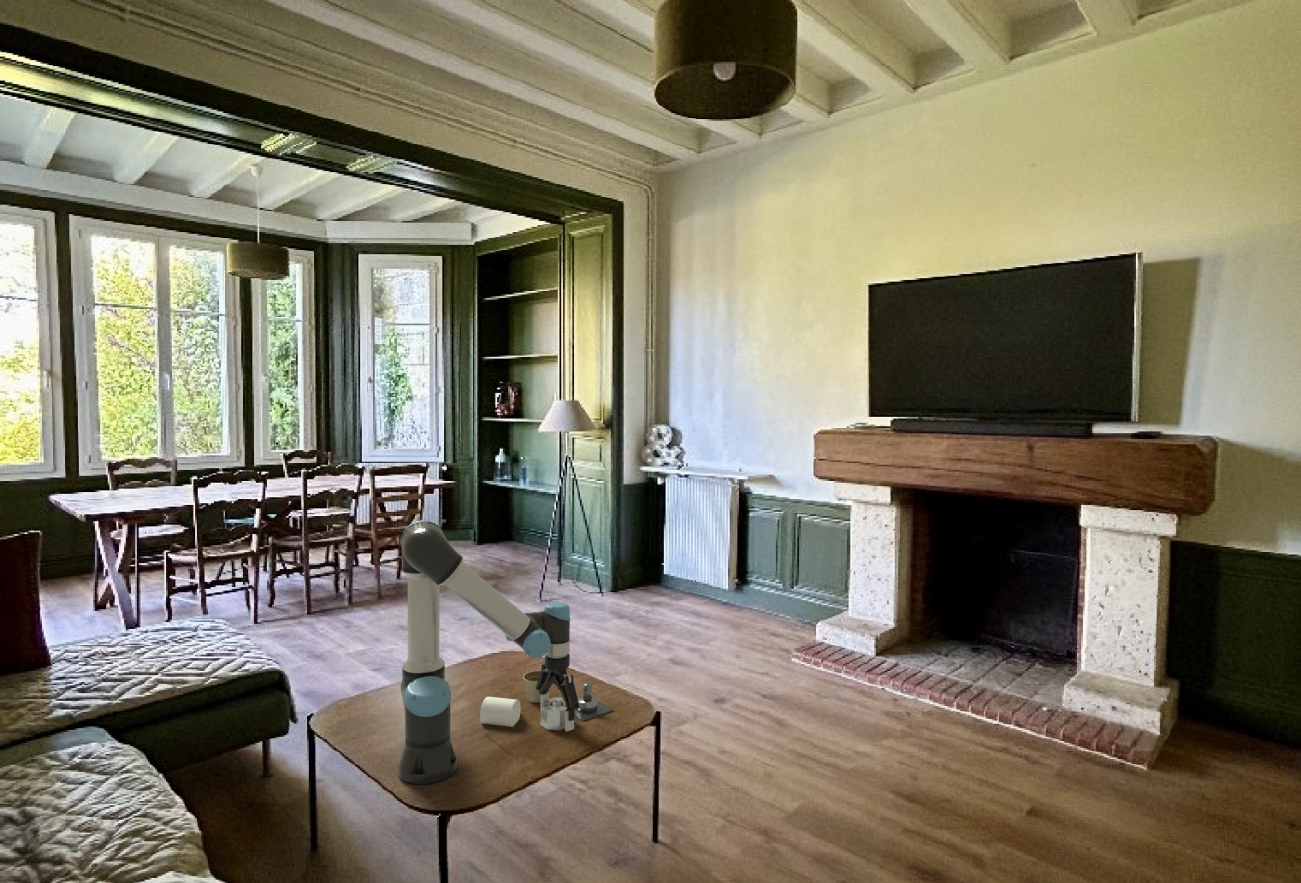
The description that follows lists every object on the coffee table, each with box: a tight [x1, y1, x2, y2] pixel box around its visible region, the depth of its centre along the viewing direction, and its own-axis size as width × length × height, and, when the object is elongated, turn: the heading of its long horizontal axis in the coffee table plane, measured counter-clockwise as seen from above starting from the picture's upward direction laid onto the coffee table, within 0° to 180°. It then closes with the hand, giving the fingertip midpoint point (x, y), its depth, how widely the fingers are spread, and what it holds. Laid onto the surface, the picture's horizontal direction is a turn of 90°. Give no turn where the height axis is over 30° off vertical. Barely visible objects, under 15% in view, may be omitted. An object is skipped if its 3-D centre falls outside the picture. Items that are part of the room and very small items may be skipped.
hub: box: [575, 681, 615, 722], centre depth 231 cm, size 12×12×9 cm
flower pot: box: [522, 670, 549, 703], centre depth 238 cm, size 9×9×9 cm
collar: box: [540, 697, 567, 731], centre depth 221 cm, size 9×9×6 cm
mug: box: [479, 696, 521, 728], centre depth 223 cm, size 12×10×8 cm
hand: (556, 722), depth 221 cm, fingers open, 13 cm apart
